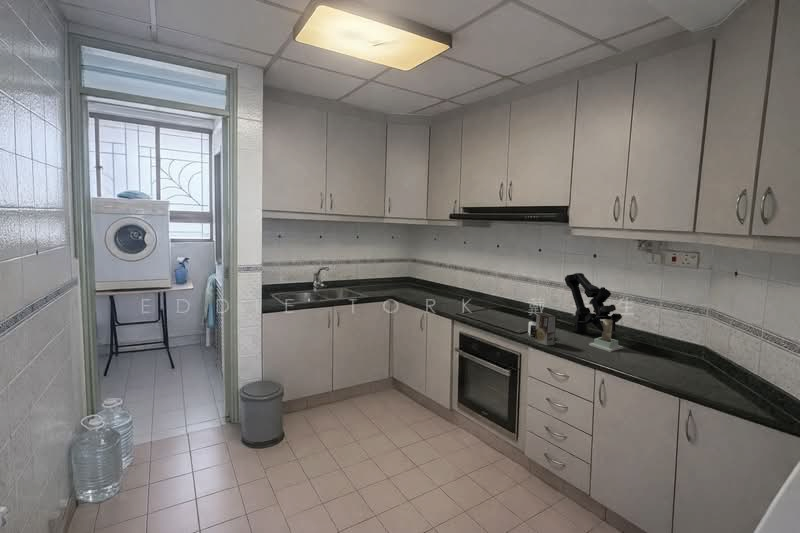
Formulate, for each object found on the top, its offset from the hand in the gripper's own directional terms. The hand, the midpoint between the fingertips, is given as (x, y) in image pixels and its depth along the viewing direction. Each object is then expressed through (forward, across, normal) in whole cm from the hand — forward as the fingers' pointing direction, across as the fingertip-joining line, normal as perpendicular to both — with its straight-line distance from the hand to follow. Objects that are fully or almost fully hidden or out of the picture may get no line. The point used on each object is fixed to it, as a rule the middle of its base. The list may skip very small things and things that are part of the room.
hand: (608, 331), depth 216 cm
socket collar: (+5, 0, +7) cm, 9 cm away
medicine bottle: (-9, -31, +22) cm, 39 cm away
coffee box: (+1, -32, +12) cm, 34 cm away
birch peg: (+5, 0, +7) cm, 8 cm away
